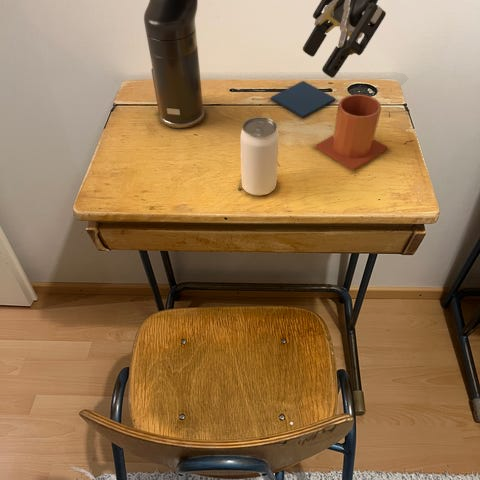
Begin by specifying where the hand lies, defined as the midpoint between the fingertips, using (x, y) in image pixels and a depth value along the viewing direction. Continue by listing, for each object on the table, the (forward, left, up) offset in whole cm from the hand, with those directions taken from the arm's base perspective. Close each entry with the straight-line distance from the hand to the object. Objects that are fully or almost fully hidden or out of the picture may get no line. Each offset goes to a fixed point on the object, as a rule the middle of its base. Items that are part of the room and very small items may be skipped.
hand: (316, 63), depth 72 cm
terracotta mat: (+2, +11, -20) cm, 23 cm away
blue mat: (-17, +17, -20) cm, 31 cm away
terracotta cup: (+2, +11, -20) cm, 23 cm away
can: (-2, -10, -20) cm, 22 cm away
